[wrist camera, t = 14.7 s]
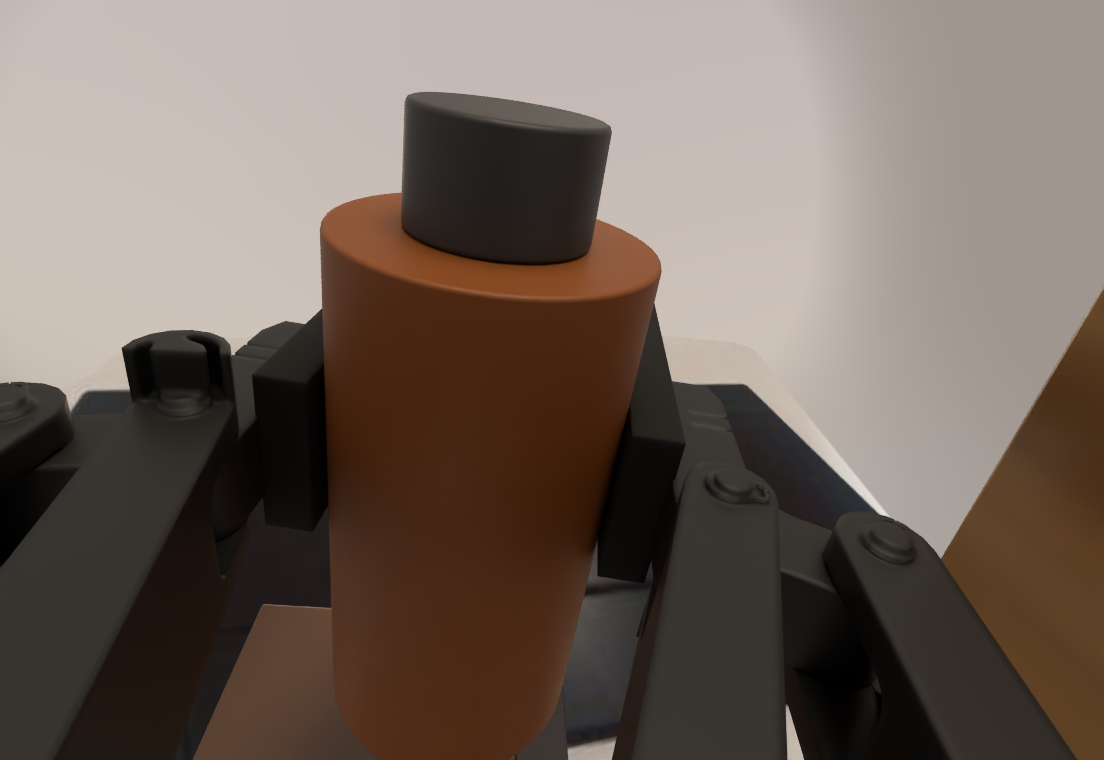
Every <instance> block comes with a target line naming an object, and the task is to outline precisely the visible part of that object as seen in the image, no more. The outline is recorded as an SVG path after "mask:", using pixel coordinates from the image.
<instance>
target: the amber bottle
mask: <svg viewBox="0 0 1104 760" xmlns="http://www.w3.org/2000/svg"><path fill="white" fill-rule="evenodd" d="M404 110H405V111H404V139H403V171H402V193H393V194H384V195H376V196H370V197H366V198H361V199H357V200H353V201H350V202H347V203H344V204H342V205H340V206H338V207H336V208H334V209H333V210H331V211H330V212H328V213H327V215H326V216H325V217H324V218H323V220H322V222H321V227H320V246H321V278H322V312H323V345H324V378H325V411H326V443H327V476H328V509H329V542H330V575H331V608H332V641H333V674H334V689H335V696H336V700H337V704H338V707H339V710H340V712H341V715H342V717H343V719H344V721H345V723H346V725H347V726H348V728H349V729H350V731H351V732H352V734H353V735H354V736H355V737H356V738H357V739H358V740H359V741H360V743H361V744H362V745H363V746H364V747H365V748H367V749H368V750H369V751H370V752H372V753H373V754H374V755H376V756H377V757H378V758H380V759H382V760H508V759H510V758H512V757H513V756H515V755H516V754H518V753H519V752H521V751H522V750H523V749H524V748H525V747H527V746H528V745H529V744H530V743H531V742H532V741H533V740H534V739H535V738H536V737H537V736H538V735H539V734H540V732H541V731H542V730H543V729H544V727H545V726H546V724H547V723H548V721H549V720H550V718H551V716H552V714H553V712H554V710H555V708H556V706H557V703H558V700H559V696H560V693H561V689H562V685H563V681H564V676H565V672H566V668H567V664H568V660H569V656H570V651H571V647H572V643H573V639H574V635H575V631H576V626H577V622H578V618H579V614H580V610H581V605H582V601H583V597H584V593H585V589H586V585H587V580H588V576H589V572H590V568H591V564H592V560H593V555H594V551H595V547H596V543H597V539H598V535H599V530H600V526H601V522H602V518H603V514H604V510H605V505H606V501H607V497H608V493H609V489H610V485H611V480H612V476H613V472H614V468H615V464H616V460H617V455H618V451H619V447H620V443H621V439H622V435H623V430H624V426H625V422H626V418H627V414H628V409H629V405H630V401H631V397H632V393H633V389H634V384H635V380H636V376H637V372H638V368H639V364H640V359H641V355H642V351H643V347H644V343H645V339H646V334H647V330H648V326H649V322H650V318H651V314H652V309H653V305H654V301H655V297H656V293H657V288H658V284H659V280H660V276H661V263H660V260H659V258H658V256H657V255H656V253H655V252H654V251H653V250H652V249H651V248H650V247H649V246H647V245H646V244H645V243H644V242H642V241H641V240H639V239H638V238H636V237H634V236H633V235H631V234H629V233H627V232H625V231H623V230H621V229H619V228H616V227H614V226H612V225H610V224H607V223H605V222H602V221H600V220H597V219H596V217H597V211H598V206H599V200H600V195H601V189H602V184H603V178H604V173H605V167H606V161H607V156H608V150H609V145H610V139H611V133H612V132H611V127H610V126H609V125H607V124H606V123H604V122H603V121H600V120H598V119H595V118H592V117H589V116H586V115H582V114H578V113H574V112H570V111H566V110H561V109H557V108H552V107H547V106H542V105H536V104H531V103H525V102H519V101H513V100H506V99H500V98H492V97H485V96H476V95H467V94H457V93H442V92H419V93H414V94H410V95H408V96H407V97H406V100H405V108H404Z"/></svg>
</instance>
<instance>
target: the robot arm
mask: <svg viewBox="0 0 1104 760" xmlns="http://www.w3.org/2000/svg"><path fill="white" fill-rule="evenodd" d="M122 352H123V357H124V362H125V367H126V372H127V377H128V382H129V387H130V392H131V397H132V402H131V403H130V404H129V406H128V407H127V408H126V409H125V411H124V412H123V413H113V414H71V413H70V409H69V406H68V402H67V398H66V395H65V394H64V393H63V392H62V391H61V390H60V389H59V388H56V387H53V386H50V385H46V384H42V383H25V382H11V384H9V383H1V384H0V760H174V759H175V756H176V753H177V750H178V747H179V744H180V741H181V738H182V736H183V733H184V730H185V727H186V724H187V721H188V718H189V715H190V713H191V710H192V707H193V704H194V701H195V698H196V695H197V692H198V689H199V687H200V684H201V681H202V678H203V675H204V672H205V669H206V666H207V664H208V661H209V658H210V655H211V652H212V649H213V646H214V643H215V640H216V638H217V635H218V632H219V629H220V626H221V623H222V620H223V617H224V615H225V612H226V609H227V606H228V603H229V600H230V597H231V594H232V592H233V589H234V586H235V583H236V580H237V577H238V574H239V571H240V568H241V566H242V563H243V560H244V557H245V554H246V551H247V548H248V545H249V543H250V522H249V515H250V514H251V512H252V511H253V510H254V508H255V507H256V505H257V504H258V503H259V501H260V500H261V499H262V497H263V501H264V512H265V522H266V524H267V525H274V526H280V527H287V528H293V529H299V530H306V531H312V532H313V530H314V529H315V527H316V525H317V524H318V522H319V520H320V518H321V517H322V515H323V513H324V512H325V510H326V508H327V507H328V476H327V443H326V411H325V378H324V345H323V312H322V309H321V310H320V311H319V312H318V313H317V314H316V315H315V316H314V317H313V318H312V319H311V320H309V321H308V322H307V323H306V324H300V323H294V322H288V321H285V322H282V323H280V324H277V325H274V326H272V327H269V328H266V329H264V330H262V331H260V332H259V333H258V334H257V335H256V336H254V337H253V338H252V339H251V340H250V341H248V343H247V345H244V346H243V347H241V348H240V349H239V350H238V351H237V352H235V355H232V356H231V347H230V344H229V343H228V342H227V341H226V340H225V339H224V338H222V337H220V336H217V335H215V334H212V333H208V332H201V331H194V330H178V331H177V330H176V331H166V332H160V333H154V334H149V335H147V336H144V337H141V338H138V339H135V340H133V341H131V342H130V343H129V344H127V345H125V346H124V347H122ZM651 560H652V569H653V578H654V580H653V583H652V587H651V590H650V593H649V596H648V599H647V603H646V606H645V609H644V612H643V616H642V619H641V622H640V625H639V629H638V632H637V635H636V636H637V637H639V639H638V644H637V648H636V653H635V657H634V662H633V666H632V671H631V675H630V680H629V684H628V689H627V693H626V698H625V703H624V707H623V712H622V716H621V721H620V725H619V730H618V734H617V739H616V743H615V748H614V752H613V757H612V760H787V734H786V707H785V696H786V700H787V703H788V706H789V710H790V713H791V716H792V720H793V723H794V727H795V730H796V733H797V737H798V740H799V743H800V747H801V750H802V753H803V757H804V760H1077V758H1076V757H1075V755H1074V754H1073V753H1072V751H1071V750H1070V748H1069V747H1068V745H1067V744H1066V742H1065V741H1064V739H1063V738H1062V736H1061V735H1060V733H1059V732H1058V731H1057V729H1056V728H1055V726H1054V725H1053V723H1052V722H1051V720H1050V719H1049V717H1048V716H1047V714H1046V713H1045V711H1044V710H1043V709H1042V707H1041V706H1040V704H1039V703H1038V701H1037V700H1036V698H1035V697H1034V695H1033V694H1032V692H1031V691H1030V689H1029V688H1028V687H1027V685H1026V684H1025V682H1024V681H1023V679H1022V678H1021V676H1020V675H1019V673H1018V672H1017V670H1016V669H1015V667H1014V666H1013V665H1012V663H1011V662H1010V660H1009V659H1008V657H1007V656H1006V654H1005V653H1004V651H1003V650H1002V648H1001V647H1000V645H999V644H998V643H997V641H996V640H995V638H994V637H993V635H992V634H991V632H990V631H989V629H988V628H987V626H986V625H985V623H984V622H983V621H982V619H981V618H980V616H979V615H978V613H977V612H976V610H975V609H974V607H973V606H972V604H971V603H970V601H969V600H968V599H967V597H966V596H965V594H964V593H963V591H962V590H961V588H960V587H959V585H958V584H957V582H956V581H955V579H954V578H953V577H952V575H951V574H950V572H949V571H948V569H947V568H946V566H945V565H944V563H943V562H942V560H941V559H940V558H939V556H938V555H937V553H936V552H935V550H934V549H933V548H932V547H931V546H930V545H929V544H928V543H927V542H926V541H925V540H924V539H923V538H922V537H921V536H919V535H918V534H917V533H915V532H914V531H913V530H911V529H910V528H908V527H907V526H906V525H904V524H902V523H900V522H898V521H895V520H894V519H892V518H889V517H887V516H882V515H878V514H875V513H871V512H859V511H852V512H849V513H846V514H844V515H841V516H840V518H839V520H838V522H837V523H836V525H835V528H834V530H833V531H831V530H828V529H825V528H823V527H820V526H817V525H814V524H812V523H809V522H806V521H803V520H801V519H798V518H796V517H794V516H791V515H789V514H787V513H785V512H783V511H781V510H780V509H778V501H777V498H776V495H775V492H774V491H773V489H772V488H771V487H770V486H769V485H768V484H767V483H766V482H765V481H764V480H763V479H762V478H760V477H759V476H757V475H756V474H754V473H753V472H751V471H749V470H747V469H746V468H745V465H744V462H743V459H742V457H741V454H740V451H739V448H738V445H737V442H736V440H735V437H734V434H733V433H732V428H731V426H730V423H729V420H727V414H726V411H725V409H724V406H723V403H722V401H721V400H720V399H719V398H718V397H717V396H716V395H715V394H714V393H713V392H712V391H711V390H710V389H709V388H708V387H705V386H698V385H692V384H686V383H680V382H674V381H672V380H671V376H670V371H669V367H668V362H667V358H666V353H665V349H664V344H663V340H662V335H661V331H660V327H659V322H658V318H657V313H656V309H655V304H654V305H653V309H652V314H651V318H650V322H649V326H648V330H647V334H646V339H645V343H644V347H643V351H642V355H641V359H640V364H639V368H638V372H637V376H636V380H635V384H634V389H633V393H632V397H631V401H630V405H629V409H628V414H627V418H626V422H625V426H624V430H623V435H622V439H621V443H620V447H619V451H618V455H617V460H616V464H615V468H614V472H613V476H612V480H611V485H610V489H609V493H608V497H607V501H606V505H605V510H604V514H603V518H602V522H601V526H600V530H599V535H598V576H600V577H607V578H613V579H619V580H626V581H632V582H639V583H644V582H645V579H646V575H647V572H648V569H649V565H650V562H651Z"/></svg>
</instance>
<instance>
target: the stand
mask: <svg viewBox="0 0 1104 760" xmlns="http://www.w3.org/2000/svg"><path fill="white" fill-rule="evenodd" d="M941 560H942V562H943V563H944V565H945V566H946V568H947V569H948V571H949V572H950V574H951V575H952V577H953V578H954V579H955V581H956V582H957V584H958V585H959V587H960V588H961V590H962V591H963V593H964V594H965V596H966V597H967V599H968V600H969V601H970V603H971V604H972V606H973V607H974V609H975V610H976V612H977V613H978V615H979V616H980V618H981V619H982V621H983V622H984V623H985V625H986V626H987V628H988V629H989V631H990V632H991V634H992V635H993V637H994V638H995V640H996V641H997V643H998V644H999V645H1000V647H1001V648H1002V650H1003V651H1004V653H1005V654H1006V656H1007V657H1008V659H1009V660H1010V662H1011V663H1012V665H1013V666H1014V667H1015V669H1016V670H1017V672H1018V673H1019V675H1020V676H1021V678H1022V679H1023V681H1024V682H1025V684H1026V685H1027V687H1028V688H1029V689H1030V691H1031V692H1032V694H1033V695H1034V697H1035V698H1036V700H1037V701H1038V703H1039V704H1040V706H1041V707H1042V709H1043V710H1044V711H1045V713H1046V714H1047V716H1048V717H1049V719H1050V720H1051V722H1052V723H1053V725H1054V726H1055V728H1056V729H1057V731H1058V732H1059V733H1060V735H1061V736H1062V738H1063V739H1064V741H1065V742H1066V744H1067V745H1068V747H1069V748H1070V750H1071V751H1072V753H1073V754H1074V755H1075V757H1076V758H1077V760H1104V286H1103V287H1102V289H1101V291H1100V292H1099V294H1098V296H1097V297H1096V299H1095V301H1094V302H1093V304H1092V306H1091V307H1090V309H1089V311H1088V312H1087V314H1086V316H1085V318H1084V319H1083V321H1082V323H1081V325H1080V326H1079V328H1078V329H1077V331H1076V333H1075V335H1074V336H1073V338H1072V339H1071V341H1070V343H1069V344H1068V346H1067V348H1066V350H1065V351H1064V353H1063V355H1062V356H1061V358H1060V360H1059V361H1058V363H1057V365H1056V366H1055V368H1054V370H1053V371H1052V373H1051V375H1050V376H1049V378H1048V380H1047V381H1046V383H1045V385H1044V387H1043V388H1042V390H1041V392H1040V393H1039V395H1038V397H1037V399H1036V400H1035V402H1034V404H1033V405H1032V407H1031V408H1030V410H1029V412H1028V413H1027V415H1026V417H1025V418H1024V420H1023V422H1022V424H1021V425H1020V427H1019V429H1018V430H1017V432H1016V434H1015V435H1014V437H1013V439H1012V440H1011V442H1010V444H1009V445H1008V447H1007V449H1006V451H1005V452H1004V454H1003V455H1002V457H1001V459H1000V461H999V463H998V464H997V466H996V467H995V469H994V471H993V472H992V474H991V476H990V477H989V479H988V481H987V483H986V484H985V486H984V487H983V489H982V491H981V493H980V494H979V496H978V498H977V499H976V501H975V503H974V504H973V506H972V508H971V510H970V511H969V513H968V514H967V516H966V518H965V519H964V521H963V523H962V524H961V526H960V528H959V530H958V531H957V533H956V535H955V536H954V538H953V540H952V542H951V543H950V545H949V546H948V548H947V550H946V551H945V553H944V555H943V557H942V558H941Z"/></svg>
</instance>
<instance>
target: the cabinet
mask: <svg viewBox="0 0 1104 760" xmlns="http://www.w3.org/2000/svg"><path fill="white" fill-rule="evenodd" d="M193 760H382V759H380V758H378V757H377V756H376V755H374V754H373V753H372V752H370V751H369V750H368V749H367V748H365V747H364V746H363V745H362V744H361V743H360V741H359V740H358V739H357V738H356V737H355V736H354V735H353V734H352V732H351V731H350V729H349V728H348V726H347V725H346V723H345V721H344V719H343V717H342V715H341V712H340V710H339V707H338V704H337V700H336V696H335V689H334V674H333V641H332V608H319V607H302V606H285V605H268V604H264V605H262V607H261V609H260V611H259V613H258V616H257V618H256V620H255V622H254V624H253V627H252V629H251V631H250V633H249V636H248V638H247V640H246V642H245V645H244V647H243V649H242V651H241V653H240V656H239V658H238V660H237V662H236V665H235V667H234V669H233V671H232V674H231V676H230V678H229V680H228V682H227V685H226V687H225V689H224V691H223V694H222V696H221V698H220V700H219V703H218V705H217V707H216V709H215V711H214V714H213V716H212V718H211V720H210V723H209V725H208V727H207V729H206V732H205V734H204V736H203V738H202V740H201V743H200V745H199V747H198V749H197V752H196V754H195V756H194V758H193ZM508 760H568V750H567V736H566V722H565V708H564V694H563V685H562V689H561V693H560V696H559V700H558V703H557V706H556V708H555V710H554V712H553V714H552V716H551V718H550V720H549V721H548V723H547V724H546V726H545V727H544V729H543V730H542V731H541V732H540V734H539V735H538V736H537V737H536V738H535V739H534V740H533V741H532V742H531V743H530V744H529V745H528V746H527V747H525V748H524V749H523V750H522V751H521V752H519V753H518V754H516V755H515V756H513V757H512V758H510V759H508Z"/></svg>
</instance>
